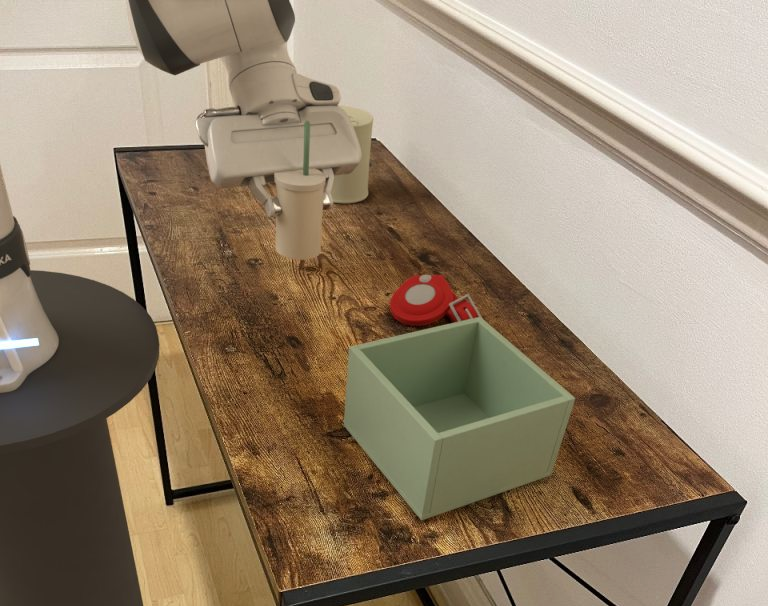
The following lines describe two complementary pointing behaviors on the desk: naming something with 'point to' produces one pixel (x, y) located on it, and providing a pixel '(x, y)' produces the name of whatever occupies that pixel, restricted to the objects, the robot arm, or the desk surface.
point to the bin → (454, 414)
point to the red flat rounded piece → (429, 302)
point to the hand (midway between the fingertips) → (301, 211)
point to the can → (356, 182)
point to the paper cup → (300, 208)
